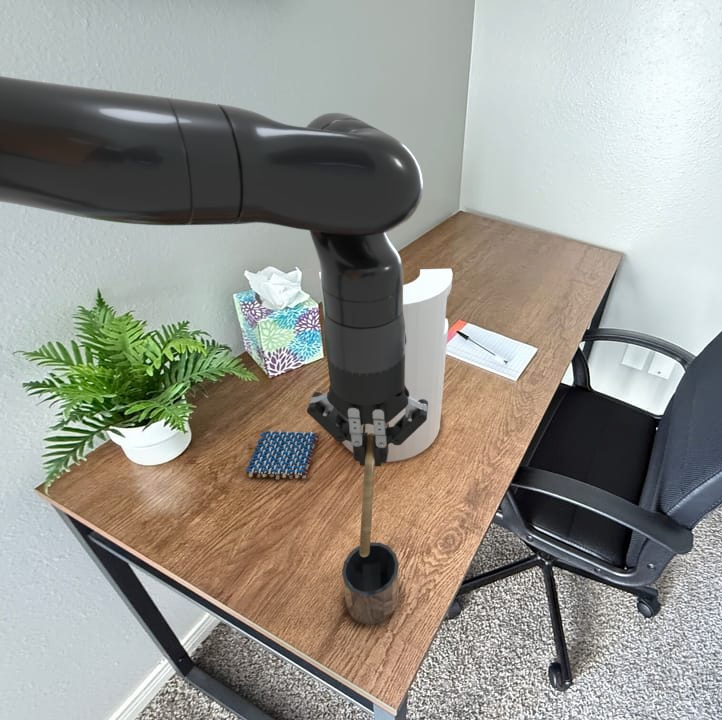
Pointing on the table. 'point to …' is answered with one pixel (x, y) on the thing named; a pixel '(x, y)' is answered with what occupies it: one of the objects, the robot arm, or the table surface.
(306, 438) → the woven mat
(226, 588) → the table surface
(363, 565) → the cup
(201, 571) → the table surface
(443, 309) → the white curved half cylinder
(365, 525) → the stirrer
